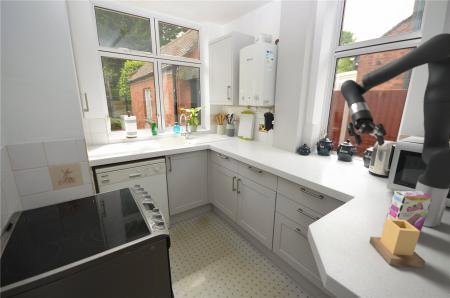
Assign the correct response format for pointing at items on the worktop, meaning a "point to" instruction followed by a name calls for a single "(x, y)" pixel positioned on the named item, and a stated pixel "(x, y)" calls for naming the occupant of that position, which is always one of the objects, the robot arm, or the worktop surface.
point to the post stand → (394, 258)
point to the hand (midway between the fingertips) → (371, 144)
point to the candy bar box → (410, 207)
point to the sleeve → (399, 237)
